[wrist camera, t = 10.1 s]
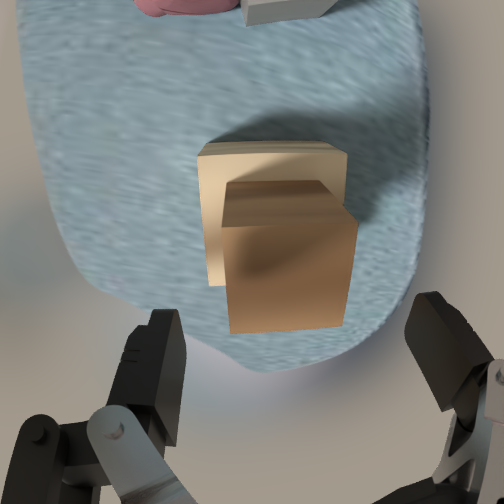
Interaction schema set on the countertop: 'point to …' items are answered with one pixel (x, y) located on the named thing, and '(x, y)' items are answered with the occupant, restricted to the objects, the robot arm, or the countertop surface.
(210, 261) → the birch block
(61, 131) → the countertop surface
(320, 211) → the walnut block
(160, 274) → the countertop surface
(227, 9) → the video game controller
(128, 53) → the countertop surface
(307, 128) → the countertop surface
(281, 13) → the grey cube
